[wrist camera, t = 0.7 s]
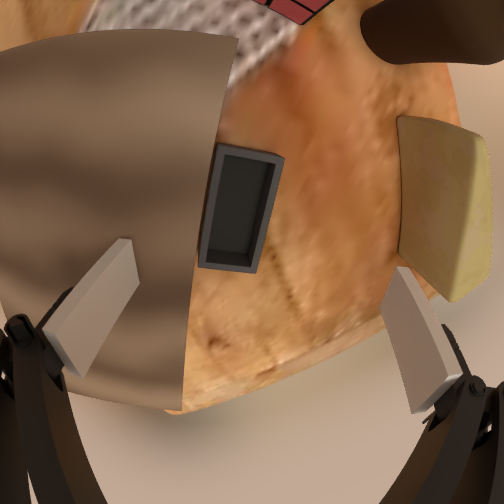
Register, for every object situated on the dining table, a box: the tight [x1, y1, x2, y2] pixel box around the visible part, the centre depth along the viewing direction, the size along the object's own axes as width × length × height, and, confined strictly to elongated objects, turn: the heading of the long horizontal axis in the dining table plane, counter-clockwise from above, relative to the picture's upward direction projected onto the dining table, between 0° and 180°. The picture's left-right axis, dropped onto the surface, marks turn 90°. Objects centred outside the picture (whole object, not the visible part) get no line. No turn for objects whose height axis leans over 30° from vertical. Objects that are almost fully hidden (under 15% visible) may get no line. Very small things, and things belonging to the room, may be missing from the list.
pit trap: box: [198, 142, 285, 274], centre depth 31 cm, size 14×7×4 cm, turn 168°
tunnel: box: [0, 29, 239, 411], centre depth 22 cm, size 27×15×19 cm, turn 168°
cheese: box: [397, 115, 493, 303], centre depth 29 cm, size 22×10×15 cm, turn 21°
